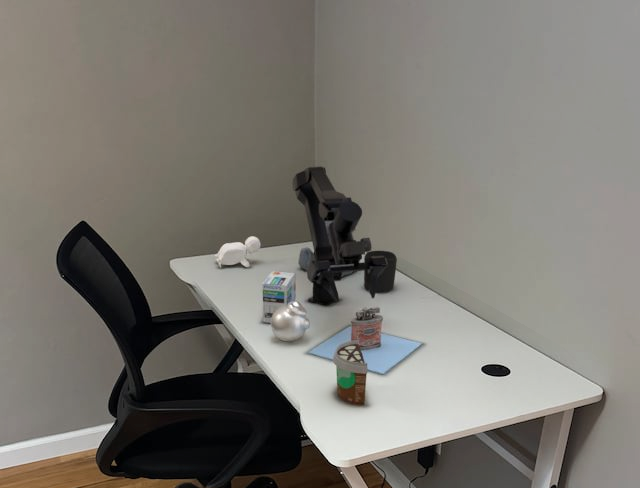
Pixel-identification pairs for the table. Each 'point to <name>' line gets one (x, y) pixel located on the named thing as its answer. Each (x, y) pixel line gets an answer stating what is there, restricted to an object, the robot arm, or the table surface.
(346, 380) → the food container
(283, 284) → the light bulb box
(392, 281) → the pen holder
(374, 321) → the lighter
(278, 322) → the silver rounded lump
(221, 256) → the white turtle figurine
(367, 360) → the blue square mat
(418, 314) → the table surface
